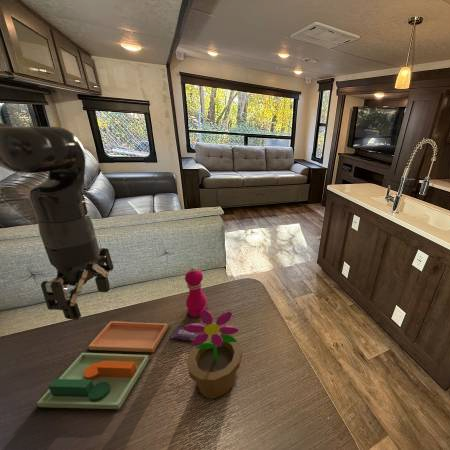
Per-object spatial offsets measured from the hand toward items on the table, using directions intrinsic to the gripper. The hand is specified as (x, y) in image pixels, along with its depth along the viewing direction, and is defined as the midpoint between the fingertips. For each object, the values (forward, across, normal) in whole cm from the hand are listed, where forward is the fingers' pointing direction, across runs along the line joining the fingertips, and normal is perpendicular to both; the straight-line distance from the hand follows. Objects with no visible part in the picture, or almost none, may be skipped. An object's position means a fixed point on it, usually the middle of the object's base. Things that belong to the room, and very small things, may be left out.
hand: (90, 303), depth 54 cm
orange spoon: (+30, -5, -6) cm, 31 cm away
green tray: (+31, -3, -7) cm, 32 cm away
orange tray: (+31, -18, -7) cm, 36 cm away
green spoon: (+30, 0, -8) cm, 31 cm away
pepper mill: (+31, -32, +10) cm, 45 cm away
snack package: (+31, -20, +12) cm, 38 cm away
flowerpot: (+31, -5, +25) cm, 40 cm away
